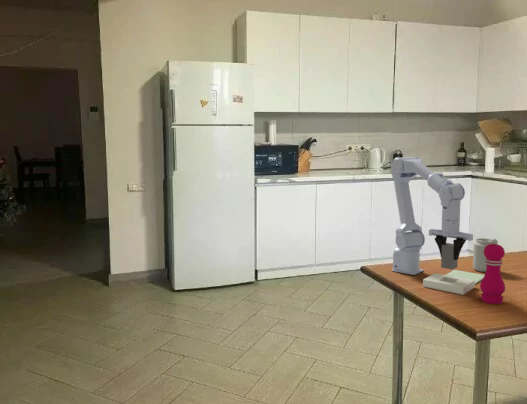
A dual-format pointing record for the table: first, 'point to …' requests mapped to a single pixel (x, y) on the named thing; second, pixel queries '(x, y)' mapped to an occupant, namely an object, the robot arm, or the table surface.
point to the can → (480, 254)
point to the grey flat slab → (449, 283)
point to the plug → (448, 257)
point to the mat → (466, 275)
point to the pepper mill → (493, 274)
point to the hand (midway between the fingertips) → (449, 258)
